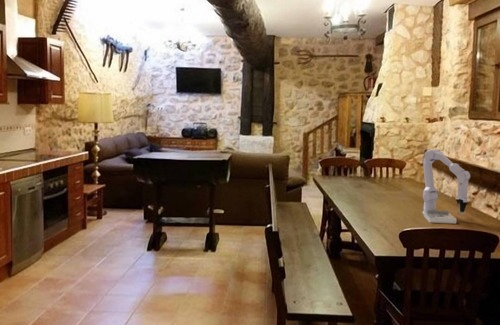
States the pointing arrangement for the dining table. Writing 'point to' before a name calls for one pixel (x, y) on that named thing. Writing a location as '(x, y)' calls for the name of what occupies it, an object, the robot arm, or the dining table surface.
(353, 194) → the dining table surface
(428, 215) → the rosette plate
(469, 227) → the dining table surface
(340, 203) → the dining table surface
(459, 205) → the peg
